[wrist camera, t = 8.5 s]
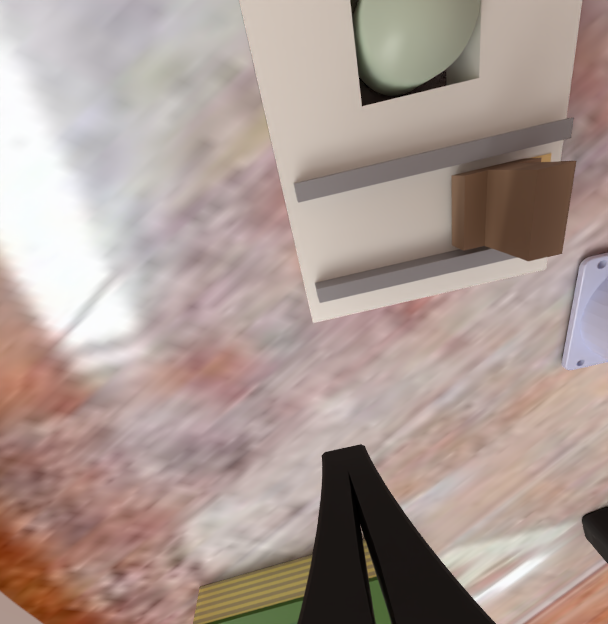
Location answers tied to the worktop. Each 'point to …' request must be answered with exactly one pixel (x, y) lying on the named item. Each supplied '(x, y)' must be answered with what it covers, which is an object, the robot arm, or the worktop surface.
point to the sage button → (409, 40)
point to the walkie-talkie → (597, 531)
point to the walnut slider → (513, 207)
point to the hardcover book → (270, 595)
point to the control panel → (403, 144)
